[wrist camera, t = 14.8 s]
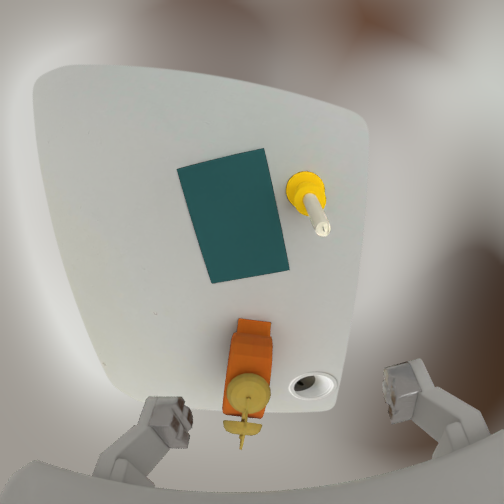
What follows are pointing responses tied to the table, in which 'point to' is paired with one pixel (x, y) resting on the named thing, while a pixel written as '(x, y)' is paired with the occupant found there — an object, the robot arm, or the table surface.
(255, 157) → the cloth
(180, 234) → the table surface
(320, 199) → the candle
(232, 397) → the alarm clock
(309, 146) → the table surface
